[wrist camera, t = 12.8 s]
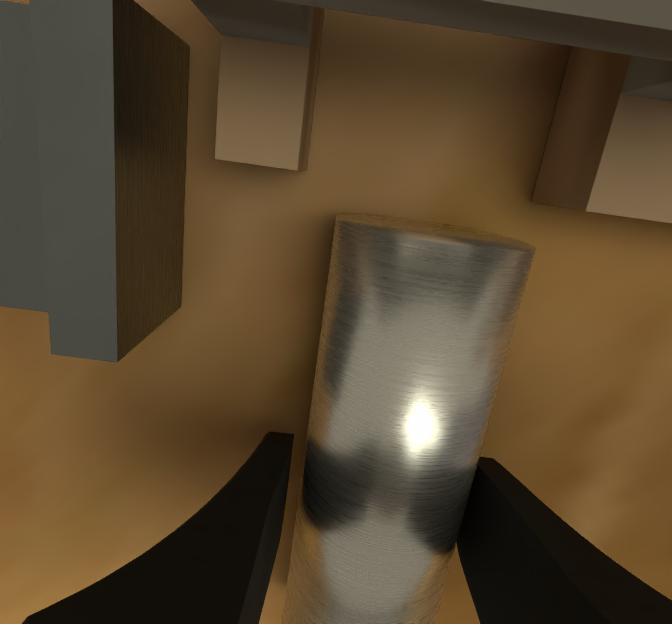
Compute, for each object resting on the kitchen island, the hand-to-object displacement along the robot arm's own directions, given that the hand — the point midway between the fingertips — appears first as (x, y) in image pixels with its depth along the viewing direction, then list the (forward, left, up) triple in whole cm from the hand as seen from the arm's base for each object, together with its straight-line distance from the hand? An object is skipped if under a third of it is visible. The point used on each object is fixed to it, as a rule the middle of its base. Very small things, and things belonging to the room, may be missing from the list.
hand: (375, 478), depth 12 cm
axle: (0, 0, -2) cm, 2 cm away
